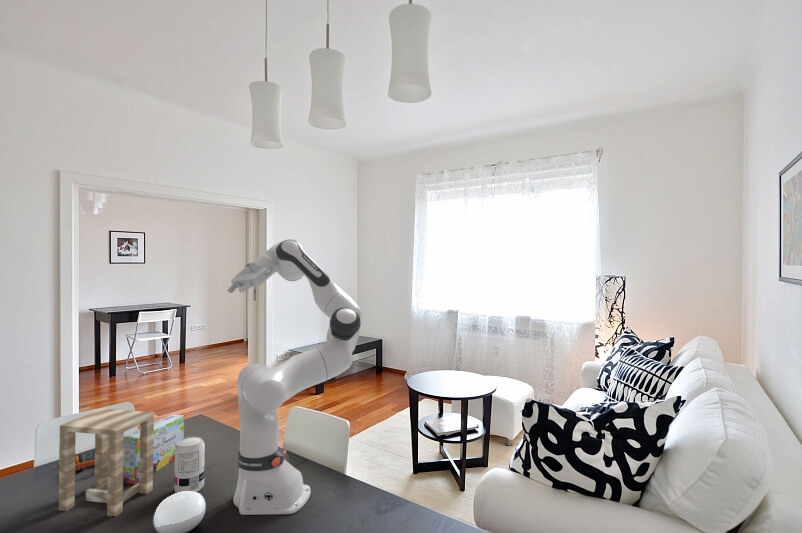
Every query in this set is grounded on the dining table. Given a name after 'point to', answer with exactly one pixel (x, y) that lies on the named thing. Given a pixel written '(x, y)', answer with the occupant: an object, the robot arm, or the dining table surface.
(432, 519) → the dining table surface
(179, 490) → the supplement can
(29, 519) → the dining table surface
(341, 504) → the dining table surface
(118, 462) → the footstool
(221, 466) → the dining table surface
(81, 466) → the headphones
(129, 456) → the snack box
